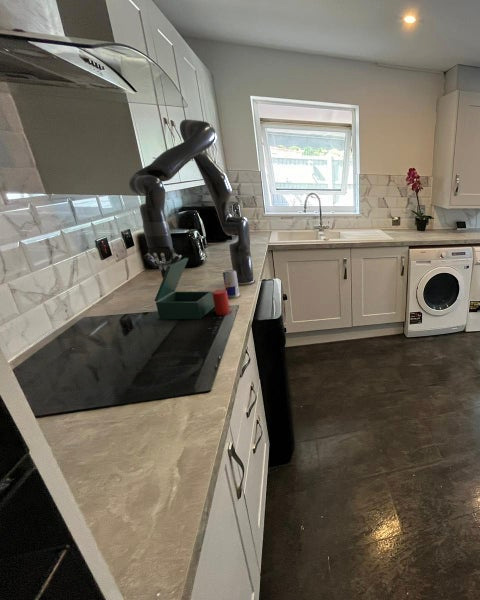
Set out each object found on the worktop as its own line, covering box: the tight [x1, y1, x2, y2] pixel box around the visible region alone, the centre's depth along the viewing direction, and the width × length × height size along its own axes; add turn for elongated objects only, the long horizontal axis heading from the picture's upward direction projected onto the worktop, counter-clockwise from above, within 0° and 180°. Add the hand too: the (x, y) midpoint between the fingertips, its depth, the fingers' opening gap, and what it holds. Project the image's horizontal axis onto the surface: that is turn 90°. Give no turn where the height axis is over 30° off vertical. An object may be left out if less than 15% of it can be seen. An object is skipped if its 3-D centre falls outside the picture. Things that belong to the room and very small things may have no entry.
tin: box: [211, 289, 231, 316], centre depth 128 cm, size 5×5×9 cm
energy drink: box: [222, 269, 240, 299], centre depth 145 cm, size 5×5×12 cm
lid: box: [154, 257, 189, 303], centre depth 123 cm, size 16×13×1 cm
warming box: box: [155, 290, 215, 320], centre depth 127 cm, size 15×13×7 cm
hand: (167, 279), depth 123 cm, fingers closed
